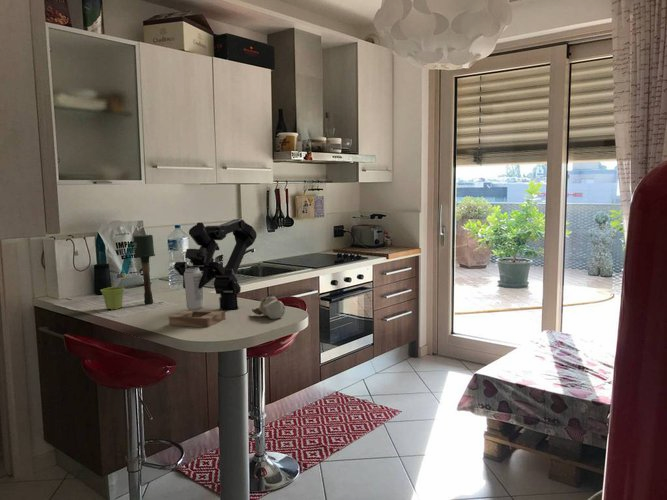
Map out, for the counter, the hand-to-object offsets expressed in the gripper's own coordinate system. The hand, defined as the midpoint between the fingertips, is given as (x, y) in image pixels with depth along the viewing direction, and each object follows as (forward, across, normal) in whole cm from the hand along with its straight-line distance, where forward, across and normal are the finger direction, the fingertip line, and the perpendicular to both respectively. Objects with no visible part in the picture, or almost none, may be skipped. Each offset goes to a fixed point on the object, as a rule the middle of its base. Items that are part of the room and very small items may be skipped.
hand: (191, 288), depth 192 cm
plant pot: (-3, -52, +22) cm, 56 cm away
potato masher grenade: (-10, -42, +30) cm, 53 cm away
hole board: (+8, 0, +10) cm, 13 cm away
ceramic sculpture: (0, +24, +20) cm, 31 cm away
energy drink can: (+5, 0, +7) cm, 8 cm away
